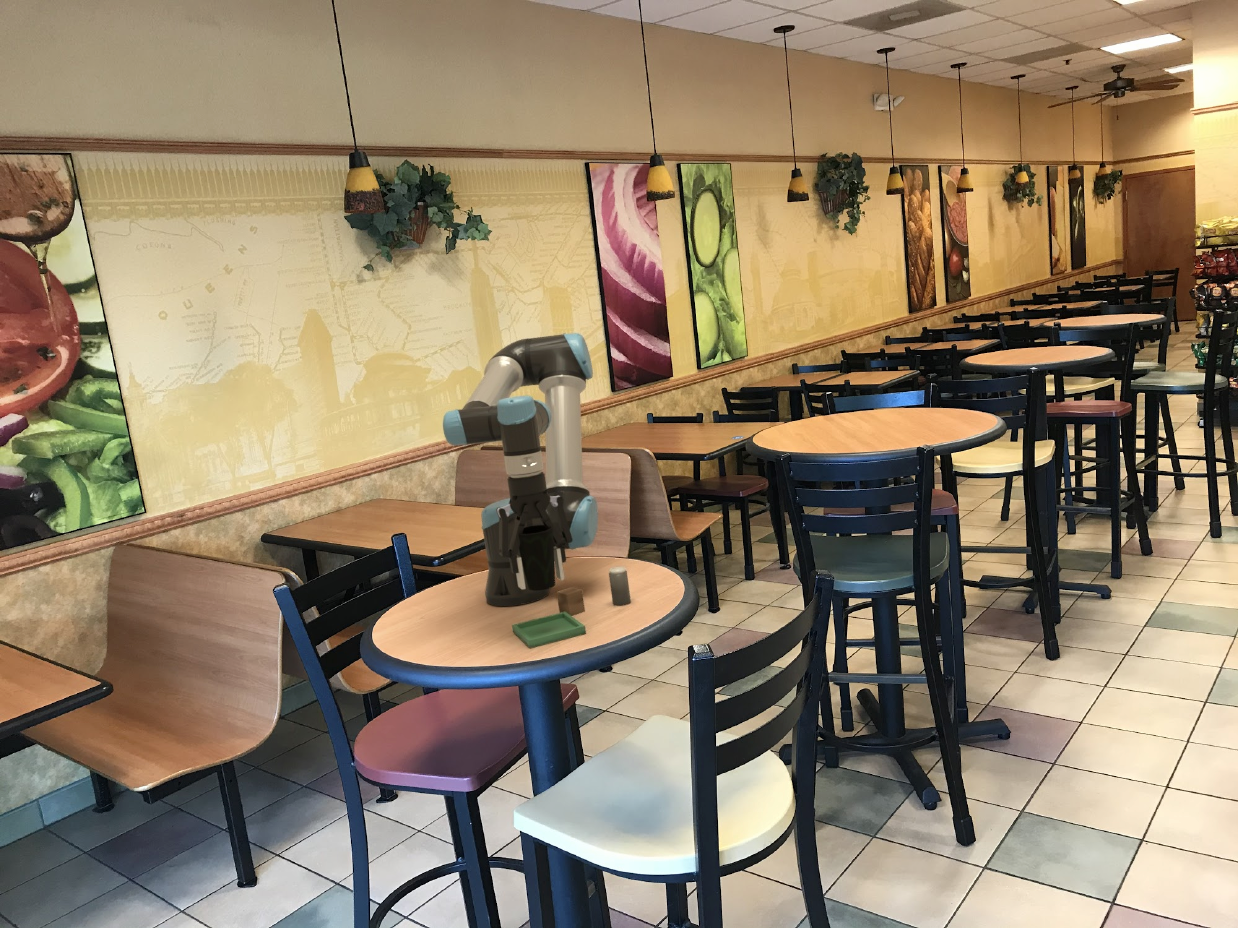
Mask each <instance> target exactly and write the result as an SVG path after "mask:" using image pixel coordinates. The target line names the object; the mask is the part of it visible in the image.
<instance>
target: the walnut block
mask: <svg viewBox="0 0 1238 928" xmlns="http://www.w3.org/2000/svg"><path fill="white" fill-rule="evenodd" d="M556 598H557V604H558V605H557V606H558V611H559V612H558V613H561V612H567V613H568V614H569V615H571V616H572V617H573V616H576V615H579V614H582V613H585V612H586V608H585V603H584V602H585V601H584V596H583V589H581V588H576V587H574V586H570V587H568V588H564V589H562V590H559V591H556Z"/></svg>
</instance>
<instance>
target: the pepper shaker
mask: <svg viewBox="0 0 1238 928" xmlns="http://www.w3.org/2000/svg"><path fill="white" fill-rule="evenodd" d="M608 571H609V572H608V579H609V585H610V593H611V599H612V605H613V606H614V607H615V606H616V607H621V606H622V607H623V606H626V605H629V604H630V603H632V601H631V592H630V585H629V578H628V570H627V569H626V566H614V567H611V568H609V570H608Z"/></svg>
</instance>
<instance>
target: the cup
mask: <svg viewBox="0 0 1238 928" xmlns="http://www.w3.org/2000/svg"><path fill="white" fill-rule="evenodd" d="M518 536H519V540H520V546H519V552H520V556H521V560H522V564H523V568H524V572H525V576H526V580H527V584H528V588H529V590H534V591H538V590H545V589H549V588H550V589H551V588H553V587H555V586H556V569H555V562H554V544H553V527H551V528H550V529H548V530H547V529H546V527H545V526H544V525H534V526H528V527H524V529H523V533H522V534H518Z"/></svg>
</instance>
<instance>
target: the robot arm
mask: <svg viewBox="0 0 1238 928" xmlns="http://www.w3.org/2000/svg"><path fill="white" fill-rule="evenodd" d="M483 375H484V376H483V377H482V379H481V380H480V381H479V383H478V384H477V386H476V388H475V389H474V390H473V393H471V396H470V397H469V398H468V400H467V401H466V403H465V405H464V406H463V407H462V408H461V409H457V408H455V409H453V410H448V411H447V412H445V413H444V416H443V419H442V430H443V434H444V438H445V440H446V442H447V443H448V444H449V445H451V446H464V447H465V446H468V445H475V444H476V445H477V444H483V443H484V444H485V443H493V442H501V444H502V451H503V458H504V464H505V465H504V466H505V473H506V474H507V476H508V478H507V486H508V491H509V498H504V499H501V500H498V501H495V502H491V503H490V504H488V505H487V506H485V507H484V508H483V509H482V510H481V514H480V515H481V529H482V532H483V533H482V534H483V539H484V540H483V542H484V547H485V554H486V557H487V558H486V560H487V564H488V572H487V579H486V585H485V589H484V590H485V591H484V592H485V593H484V594H485V595H484V596H485V601H486V603H487V604H488V605H490V606H494V607H514V606H521V605H525V604H530V603H533V602H537V601H539V600H542V599H544V598H545V597H547V596H548V595H549V594H550V592H551V588H549V589H545V590H538V591H534V590H529V588H528V584H527V580H526V576H525V572H524V568H523V564H522V560H521V556H520V552H519V546H520V540H519V536H518V534H522V533H523V529H524V527H528V526H534V525H544V526H545V527H546V529H547V530H548V529H550V528H551V527H553V544H554V564H555V577H556V578H557V579H558V580H560V581H565V573H564V568H563V567H564V565H563V563H566V562H567V561H566V560H567V555H566V550H572V551H573V550H577V549H579V548H587V547H590V546H591V544H593V542H594V541H595V539H596V535H597V531H598V530H597V529H598V523H599V513H598V503H597V500H596V498H595V497H594V496H592V495H590V493H591V492H590V489H588V488H587V487H586V486H585V485H584V481H583V480H584V479H583V448H582V441H583V440H582V418H581V417H582V412H581V409H582V408H581V393H583V391H584V390H586V387H587V381H589V380H591V379H592V378H593V377H594V376H593V375H594V371H593V364H592V360H591V355H590V351H589V348H588V345H587V342H586V340H585V338H584V337H583V335H582V334H581V333H579V332H578V333H577V332H573V333H566V332H565V333H561V334H555V335H548V336H546V335H545V336H540V337H539V336H537V337H531V338H530V337H529V338H522V339H519V340H516V341H513V342H511V343H510V344H507V345H506V346H504V347H503V348H501V349H500V350H499V351H498V352H496V353H495V354H494V355H493V356H492V357H491V358H490V359H489V360H488V362H487V364H486V365H485V367H484V371H483ZM537 385H538V389H539V391H541V393H543V394H544V402H543V401H541V400H537V399H534V397H533V396H531V395H519V396H511V395H512V393H515V392H516V391H517V390H519V389H520V388H521V387H522V388H523V387H529V386H537ZM544 433H545V467H544V462H543V455H542V446H541V440H540V436H541V435H544ZM544 468H545V471H546V472H545V473H546V474H545V473H544V472H543V470H544Z"/></svg>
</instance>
